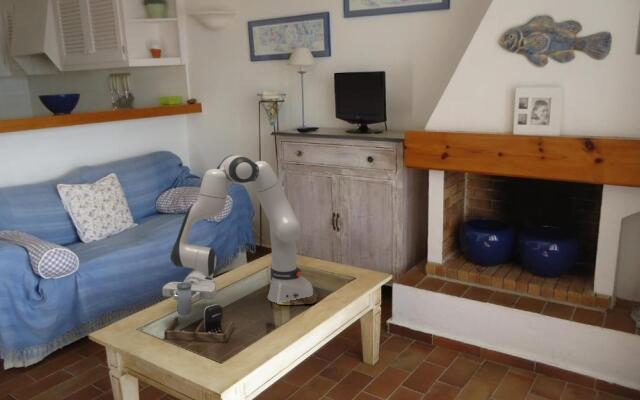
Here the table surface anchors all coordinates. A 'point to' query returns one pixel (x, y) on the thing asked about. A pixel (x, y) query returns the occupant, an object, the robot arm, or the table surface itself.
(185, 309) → the canister
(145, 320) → the table surface
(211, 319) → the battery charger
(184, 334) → the dock
